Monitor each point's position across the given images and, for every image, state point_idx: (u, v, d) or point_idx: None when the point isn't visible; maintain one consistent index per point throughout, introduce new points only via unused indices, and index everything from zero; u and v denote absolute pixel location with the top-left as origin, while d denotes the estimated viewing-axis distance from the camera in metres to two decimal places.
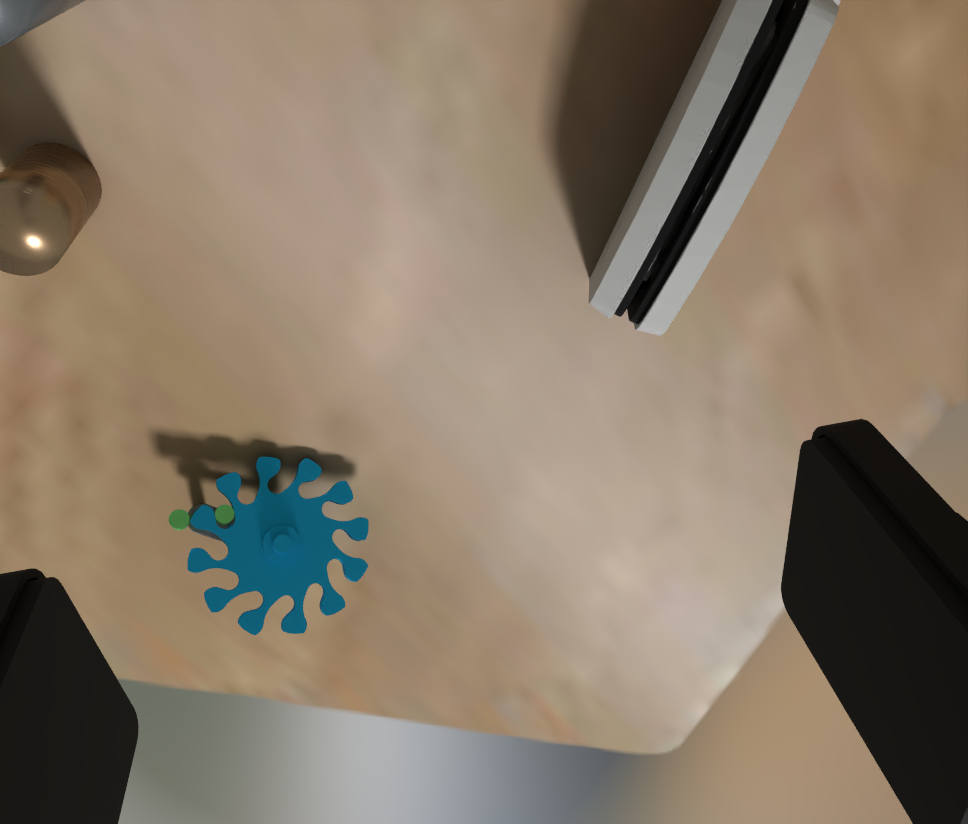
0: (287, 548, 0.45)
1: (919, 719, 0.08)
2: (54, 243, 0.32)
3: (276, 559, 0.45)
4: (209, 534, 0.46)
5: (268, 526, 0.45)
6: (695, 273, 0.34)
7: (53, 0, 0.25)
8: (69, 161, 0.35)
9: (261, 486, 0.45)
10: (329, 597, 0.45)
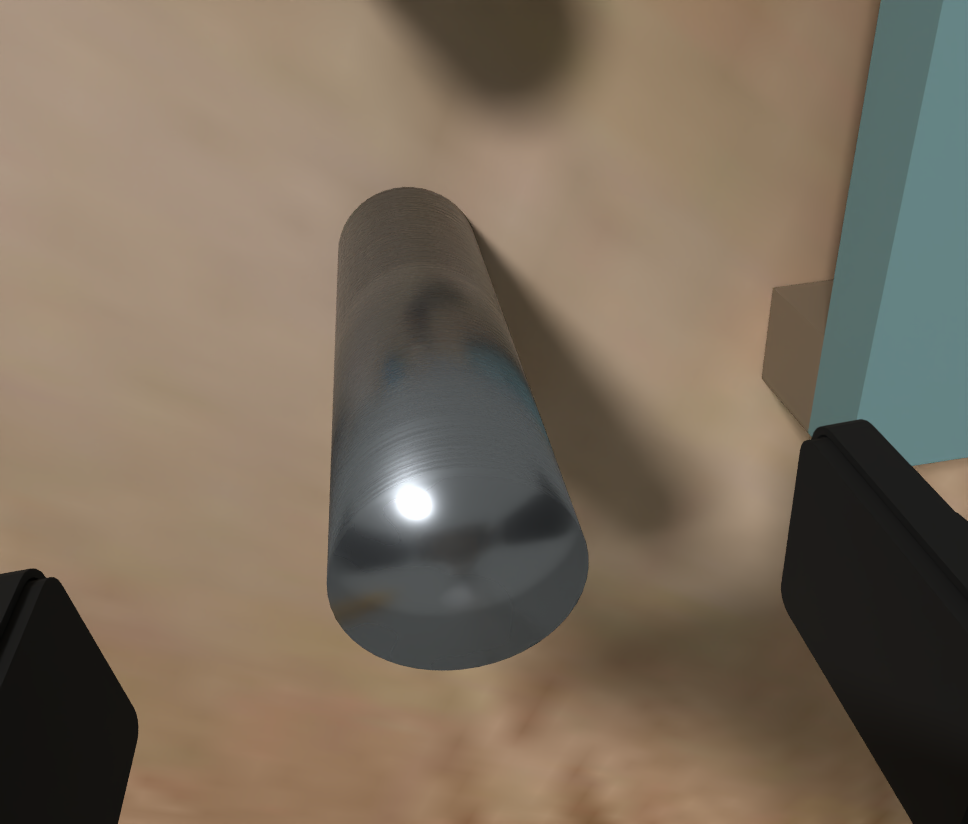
0: None
1: (920, 719, 0.08)
2: None
3: None
4: None
5: None
6: None
7: None
8: None
9: None
10: None
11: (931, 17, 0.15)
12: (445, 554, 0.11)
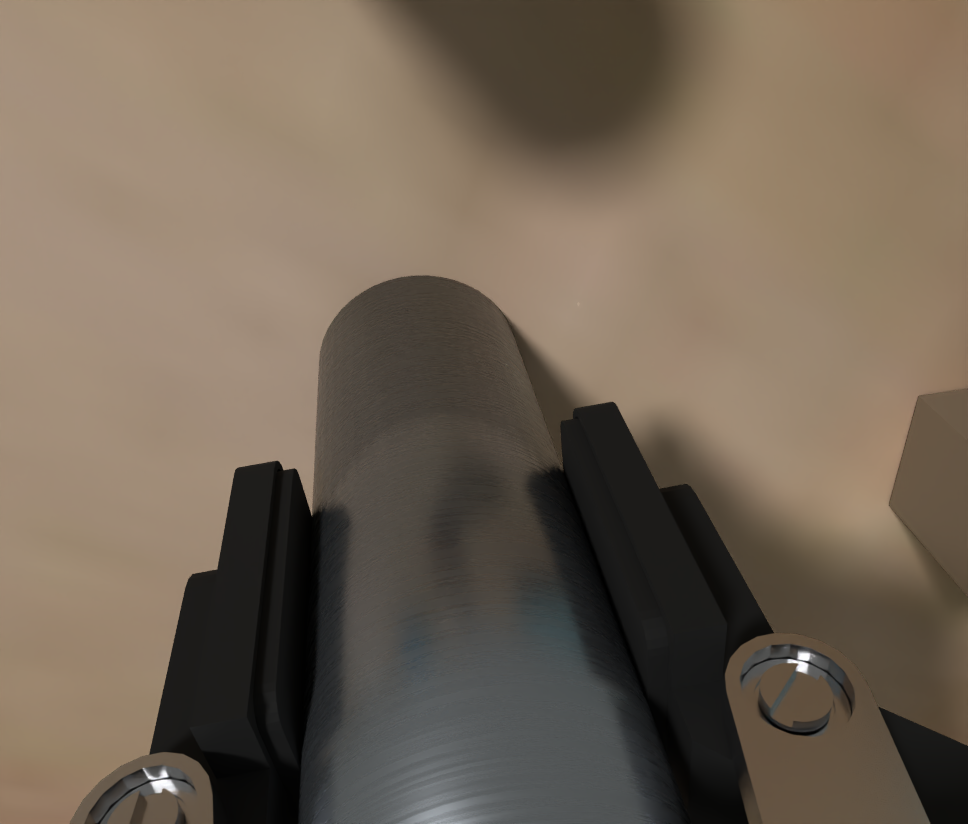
0: None
1: None
2: None
3: None
4: None
5: None
6: None
7: None
8: None
9: None
10: None
11: None
12: None
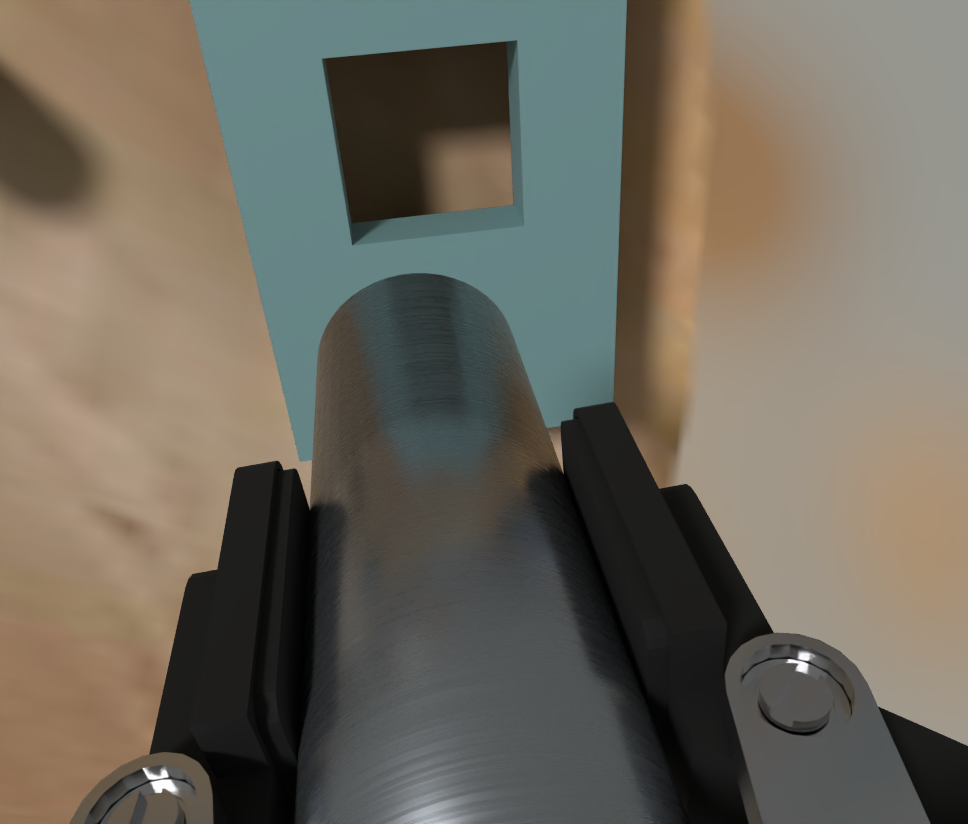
0: None
1: None
2: None
3: None
4: None
5: None
6: None
7: None
8: None
9: None
10: None
11: (234, 180, 0.25)
12: None
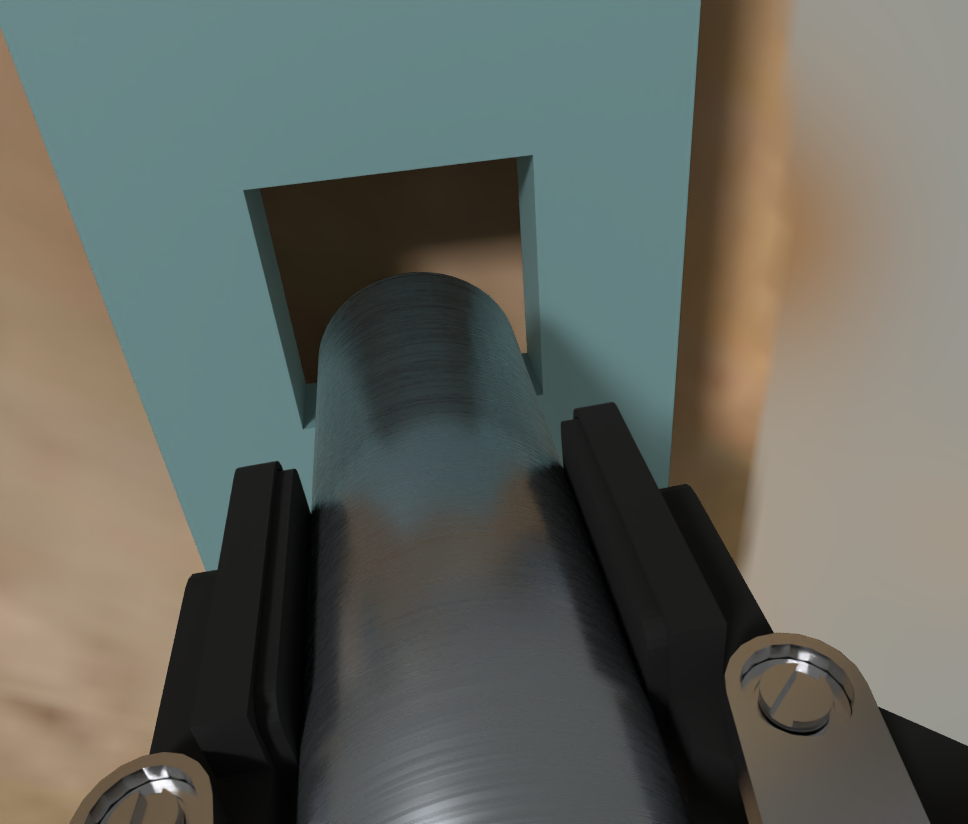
0: None
1: None
2: None
3: None
4: None
5: None
6: None
7: None
8: None
9: None
10: None
11: (128, 354, 0.17)
12: None
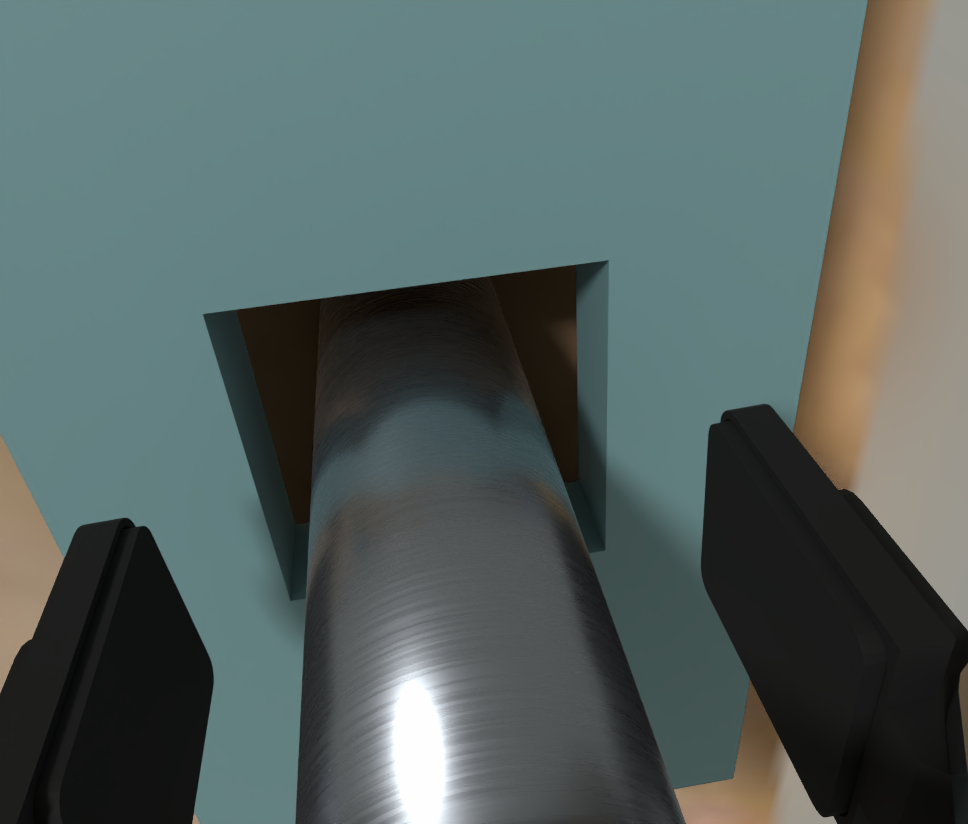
0: None
1: (804, 685, 0.09)
2: None
3: None
4: None
5: None
6: None
7: None
8: None
9: None
10: None
11: (53, 518, 0.13)
12: None
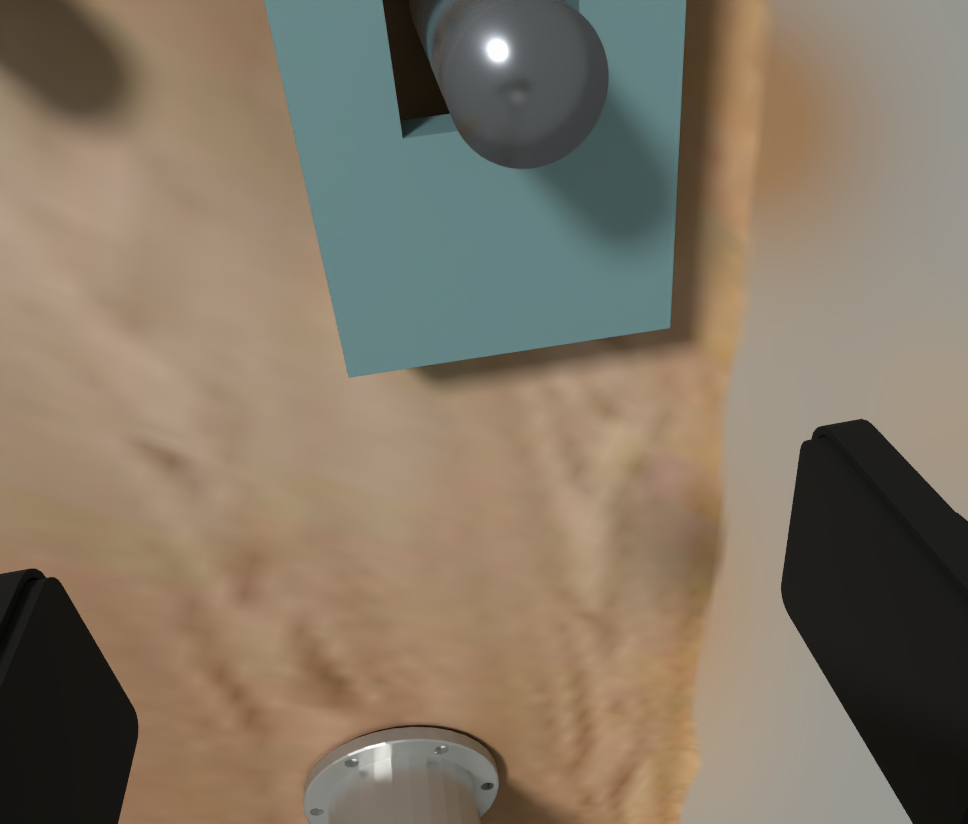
0: None
1: (919, 719, 0.08)
2: None
3: None
4: None
5: None
6: None
7: (434, 59, 0.20)
8: None
9: None
10: None
11: (279, 68, 0.23)
12: (520, 62, 0.17)
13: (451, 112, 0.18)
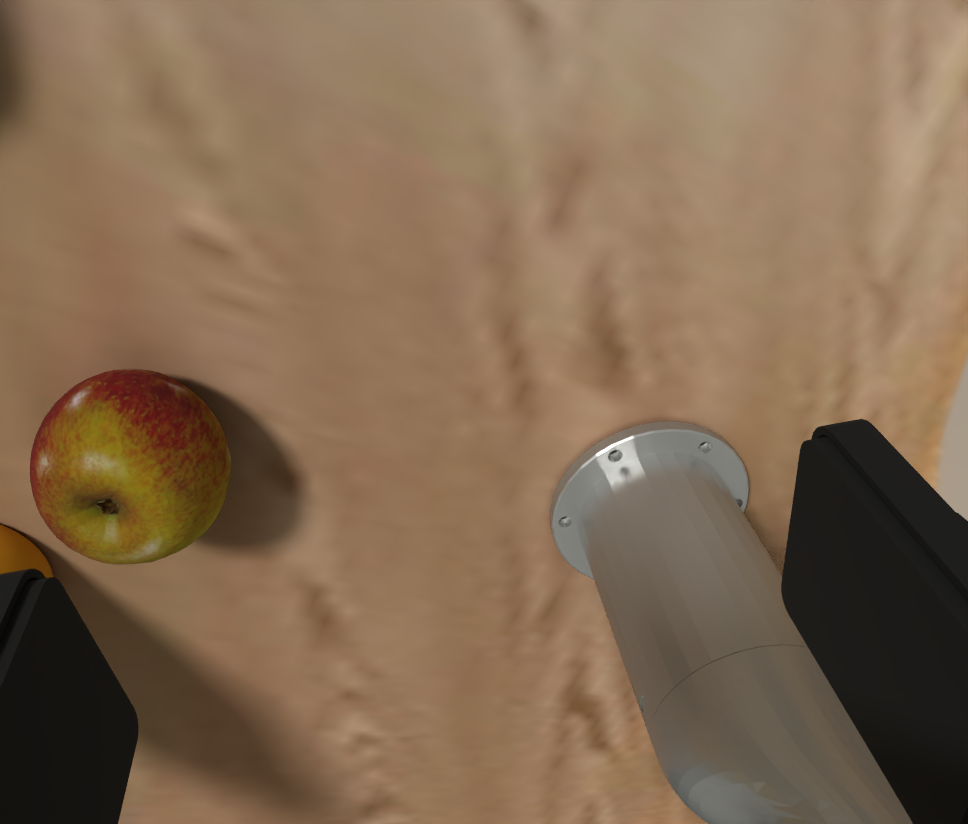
0: None
1: (919, 719, 0.08)
2: None
3: None
4: None
5: None
6: None
7: None
8: None
9: None
10: None
11: None
12: None
13: None
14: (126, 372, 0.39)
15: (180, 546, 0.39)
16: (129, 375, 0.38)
